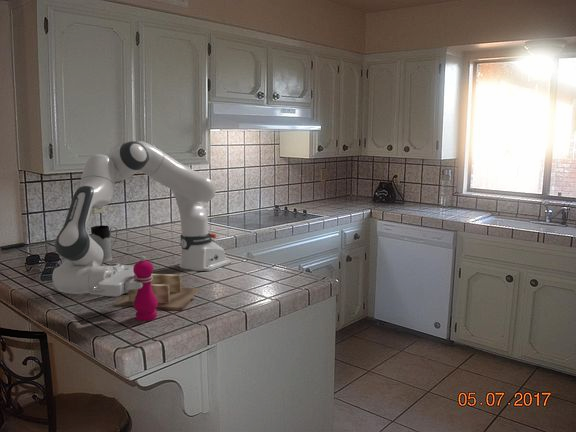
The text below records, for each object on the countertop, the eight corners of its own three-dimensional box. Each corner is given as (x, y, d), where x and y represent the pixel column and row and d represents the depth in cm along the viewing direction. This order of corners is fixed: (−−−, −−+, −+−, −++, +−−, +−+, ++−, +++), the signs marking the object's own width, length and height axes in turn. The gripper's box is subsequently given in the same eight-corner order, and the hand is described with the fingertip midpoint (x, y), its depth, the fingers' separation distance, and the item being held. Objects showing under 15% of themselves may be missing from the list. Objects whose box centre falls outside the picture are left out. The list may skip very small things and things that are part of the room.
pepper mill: (160, 313, 170) (156, 252, 166) (155, 321, 163) (151, 258, 159) (137, 313, 170) (133, 253, 166) (132, 322, 163) (127, 259, 159)
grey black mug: (87, 261, 234) (84, 228, 231) (111, 253, 247) (109, 222, 244) (101, 263, 230) (99, 229, 227) (125, 255, 242) (123, 223, 240)
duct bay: (113, 307, 176) (111, 287, 174) (138, 288, 195) (136, 270, 194) (182, 310, 172) (181, 289, 171) (201, 290, 192) (200, 272, 190)
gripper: (87, 280, 155) (133, 281, 153) (117, 261, 175) (157, 262, 173) (89, 301, 156) (134, 302, 155) (118, 280, 176) (158, 280, 175)
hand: (147, 281), depth 164 cm, fingers open, 7 cm apart
